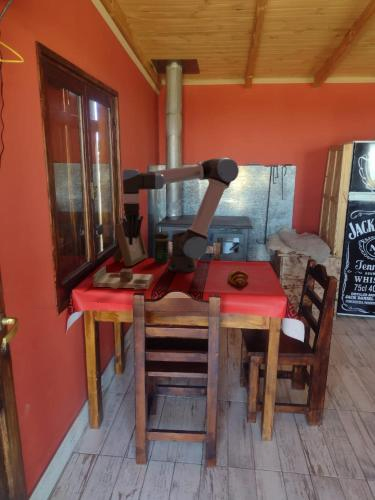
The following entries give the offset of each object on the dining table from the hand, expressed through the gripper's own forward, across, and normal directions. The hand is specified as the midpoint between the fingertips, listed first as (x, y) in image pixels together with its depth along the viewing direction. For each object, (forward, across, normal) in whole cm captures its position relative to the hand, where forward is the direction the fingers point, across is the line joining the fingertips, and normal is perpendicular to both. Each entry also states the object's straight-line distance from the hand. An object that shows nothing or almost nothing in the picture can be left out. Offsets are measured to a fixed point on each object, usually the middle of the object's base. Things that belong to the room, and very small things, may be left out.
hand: (132, 250), depth 175 cm
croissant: (+17, -37, +38) cm, 55 cm away
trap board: (+16, +4, -3) cm, 17 cm away
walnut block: (+14, +5, 0) cm, 15 cm away
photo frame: (+17, -24, -32) cm, 44 cm away
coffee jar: (+17, -38, -17) cm, 45 cm away
